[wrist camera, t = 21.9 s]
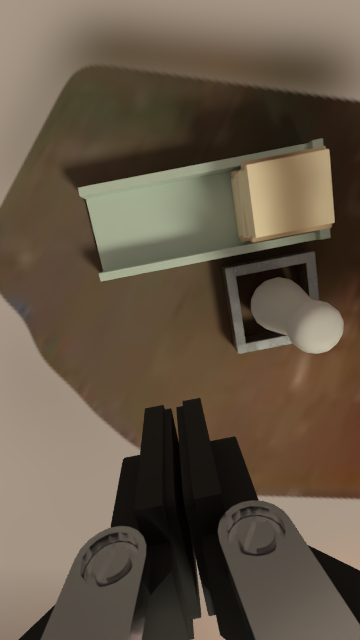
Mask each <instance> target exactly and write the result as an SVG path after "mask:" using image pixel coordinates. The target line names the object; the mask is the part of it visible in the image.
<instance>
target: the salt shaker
mask: <svg viewBox="0 0 360 640" xmlns="http://www.w3.org/2000/svg"><path fill="white" fill-rule="evenodd" d="M251 312H252V314H253V316H254V318H255V320H256V322H257V323H258V324H260V325H261V326H263V327H264V328H265V329H268V330H271V331H274V332H277V333H280V334H284V335H287V336H289V338H290V340H291V342H292V343H293V344H294V345H295V346H297V347H298V348H299V349H301V350H302V351H304V352H308V353H315V354H318V353H322V352H326V351H329V350H330V349H331V348H332V347H334V346H335V345H336V344H337V343H338V341H339V340H340V338H341V336H342V334H343V325H344V322H343V319H342V317H341V315H340V312H339V311H338V310H337V309H335V308H334V307H333V306H331V305H330V304H329V303H327V302H322V301H317V300H312V299H311V298H310V297H309V296H308V295H307V294H306V293H305V292H304V290H303V289H302V288H301V287H300V286H299V285H297V284H296V283H294V282H293V281H292V280H290V279H286V278H281V277H276V278H273V279H270V280H267V281H265V282H263V283H262V284H261V285H260V286H258V287H257V288H256V290H255V292H254V294H253V296H252V298H251Z"/></svg>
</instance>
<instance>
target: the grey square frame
mask: <svg viewBox="0 0 360 640" xmlns="http://www.w3.org/2000/svg"><path fill="white" fill-rule="evenodd" d="M297 264H298V273H299V282H300V287H301V288H302V289H303V290H304V292H305V293H306V294H307V295H308V296H309V297H310V298H311V299H312V300H317V301H319V292H318V281H317V270H316V259H315V251H306V250H305V251H300V252H295V253H289V254H284V255H279V256H274V257H269V258H264V259H258V260H253V261H248V262H243V263H238V264H233V265H228V266H222V267H221V269H222V276H223V282H224V288H225V295H226V301H227V307H228V314H229V320H230V326H231V333H232V339H233V345H234V348H235V350H236V351H237V353H238V354H240V353H245V352H250V351H256V350H261V349H266V348H271V347H276V346H281V345H287V344H292V342H291V340H290V338H289V336H287V335H284V334H280V333H277V332H274V331H270V332H265V333H260V334H255V335H250V336H245V335H244V328H243V321H242V314H241V308H240V301H239V294H238V288H237V281H236V276H241V275H246V274H251V273H256V272H261V271H266V270H272V269H277V268H282V267H287V266H292V265H297Z"/></svg>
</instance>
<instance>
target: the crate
mask: <svg viewBox="0 0 360 640" xmlns="http://www.w3.org/2000/svg"><path fill="white" fill-rule="evenodd" d="M240 165H241V170H238V171H233V172H232V173H231V176H232V178H231V185H232V193H233V200H234V207H235V214H236V221H237V228H238V235H239V238H240V240H241V242H245V241H250V240H251V243H254V242H259V241H264V240H270V239H275V238H280V237H285V236H290V235H295V234H301V233H306V232H311V231H316V230H321V229H326V228H331V227H332V223H335V218H334V205H333V192H332V178H331V165H330V152H329V149H326V146H323V147H318V148H313V149H307V150H302V151H297V152H292V153H287V154H282V155H276V156H271V157H266V158H261V159H256V160H251V161H245V162H242V163H241V164H240Z"/></svg>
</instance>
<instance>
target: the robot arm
mask: <svg viewBox="0 0 360 640" xmlns="http://www.w3.org/2000/svg"><path fill="white" fill-rule="evenodd" d="M176 408H177V422H178V435H179V442H178V437H177V433H176V428H175V423H174V419H173V414H172V410H171V409H165V408H164V405H161V406H156V407H151V408H145V415H144V424H143V433H142V442H141V451H140V455H137V456H132V457H126V458H124V459H123V463H122V468H121V473H120V479H119V484H118V490H117V495H116V500H115V506H114V511H113V517H112V522H111V528H108V529H106V530H104V531H102V532H100V533H98V534H97V535H95V536H94V537H93V538H91V539H90V540H88V542H87V543H86V544H85V545H84V546H83V547H82V548H81V549H80V551H79V553H78V554H77V556H76V558H75V560H74V562H73V564H72V567H71V569H70V571H69V574H68V576H67V579H66V581H65V584H64V586H63V588H62V590H61V593H60V595H59V597H58V600H57V602H56V604H55V605H54V606H53V607H52V608H51V609H50V610H49V611H48V612H47V613H46V614H45V615H44V616H43V617H42V618H41V619H40V620H39V621H38V622H37V623H35V624H34V625H33V626H32V627H31V628H30V629H29V630H28V631H27V632H26V633H25V634H24V635H23V636H22V637H21V638H20V639H19V640H191V639H194V632H193V619H196V618H201V608H200V597H199V587H198V578H197V567H196V560H197V566H198V570H199V575H200V579H201V584H202V588H203V593H204V597H205V602H206V606H207V611H208V614H209V616H212V615H216V617H217V622H218V627H219V631H220V635H221V636H222V637H223V638H225V639H226V640H360V571H359V570H357V569H355V568H353V567H351V566H349V565H347V564H345V563H343V562H341V561H339V560H337V559H335V558H333V557H331V556H329V555H327V554H325V553H323V552H321V551H319V550H317V549H315V548H312V547H310V546H308V545H307V544H306V542H305V541H304V539H303V538H302V536H301V535H300V533H299V531H298V530H297V528H296V527H295V525H294V524H293V523H292V521H291V519H290V518H289V517H288V515H287V514H286V513H285V512H284V511H283V510H282V509H280V508H279V507H277V506H275V505H274V504H271V503H268V502H264V501H259V500H258V497H257V495H256V492H255V489H254V486H253V484H252V481H251V478H250V475H249V472H248V470H247V467H246V464H245V461H244V459H243V456H242V453H241V450H240V447H239V445H238V442H237V439H236V437H229V438H224V439H219V440H214V441H210V439H209V435H208V430H207V426H206V422H205V417H204V413H203V408H202V404H201V399H200V398H197V399H192V400H187V401H183V406H181V407H176ZM195 556H196V557H195Z"/></svg>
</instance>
